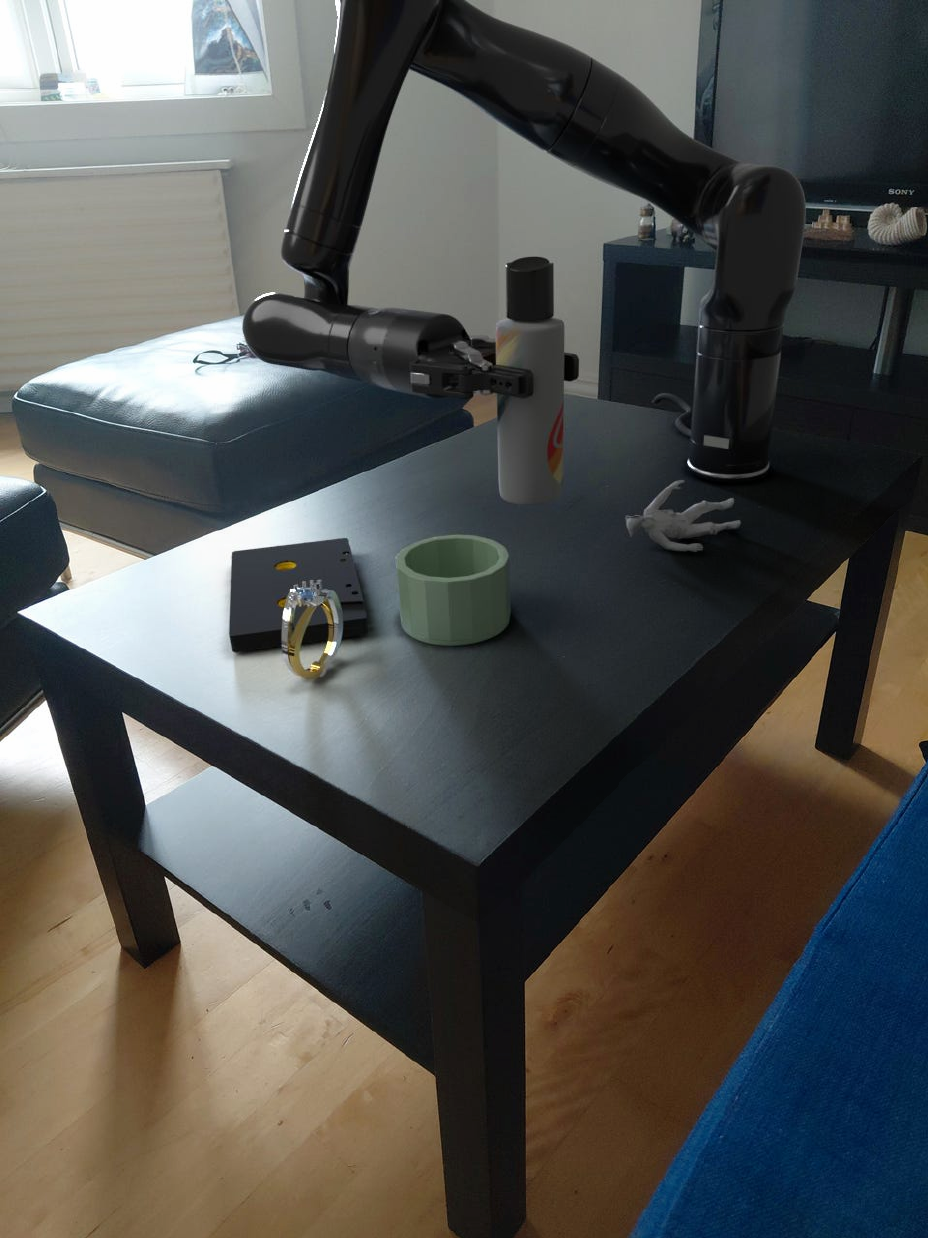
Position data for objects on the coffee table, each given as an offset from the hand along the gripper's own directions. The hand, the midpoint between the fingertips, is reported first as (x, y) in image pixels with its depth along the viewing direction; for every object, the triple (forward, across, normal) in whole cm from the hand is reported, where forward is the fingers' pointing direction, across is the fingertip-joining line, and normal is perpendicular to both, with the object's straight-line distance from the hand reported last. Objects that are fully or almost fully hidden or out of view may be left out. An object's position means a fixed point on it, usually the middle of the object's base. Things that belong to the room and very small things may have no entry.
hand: (553, 376), depth 78 cm
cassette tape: (-18, -16, +20) cm, 31 cm away
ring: (-6, -23, +20) cm, 31 cm away
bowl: (-3, -10, +20) cm, 22 cm away
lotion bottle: (-2, 0, +11) cm, 11 cm away
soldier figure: (+4, +17, +20) cm, 26 cm away
